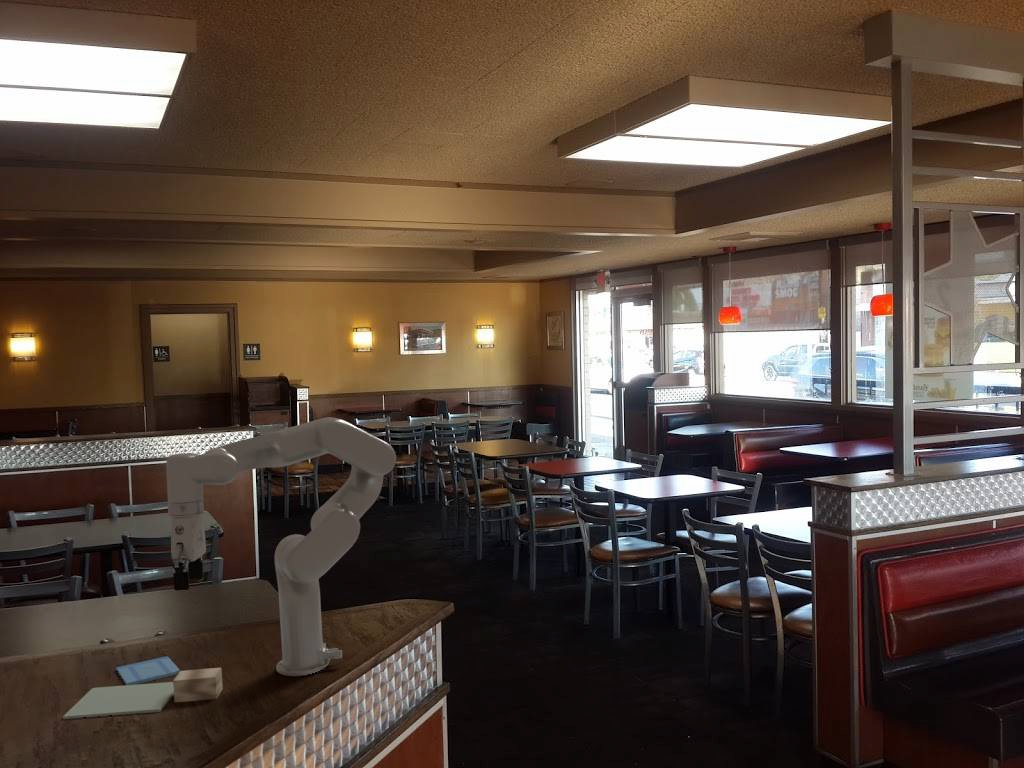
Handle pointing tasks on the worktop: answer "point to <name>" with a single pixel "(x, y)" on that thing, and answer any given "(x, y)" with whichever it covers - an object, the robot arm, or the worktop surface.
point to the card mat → (122, 700)
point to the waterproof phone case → (147, 670)
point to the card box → (197, 685)
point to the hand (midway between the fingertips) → (189, 584)
